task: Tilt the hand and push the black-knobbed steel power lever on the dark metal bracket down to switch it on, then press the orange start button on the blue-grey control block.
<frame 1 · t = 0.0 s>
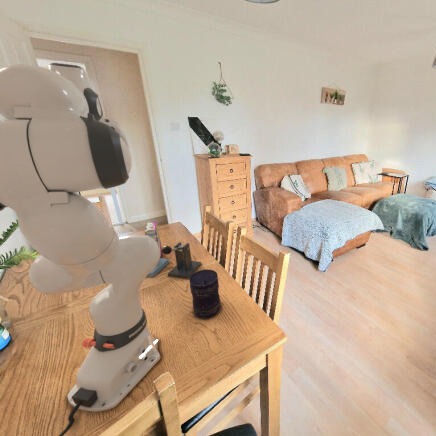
hand: (97, 164, 82), 52 cm above the table, tool tilted 20°, fingers open, 8 cm apart
storage jar: (207, 309, 92), on the table
candy bar box: (156, 254, 126), on the table
switch bracket: (185, 270, 114), on the table
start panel: (151, 268, 114), on the table
start button: (150, 260, 113), point 4 cm above the table, slide at 0.1 cm
power lever: (174, 249, 104), point 14 cm above the table, hinge at 25.0°
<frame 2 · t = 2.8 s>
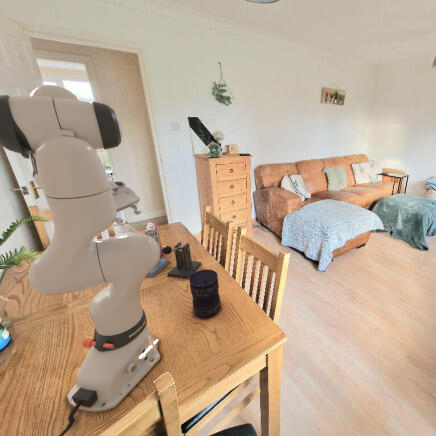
hand: (130, 217, 95), 30 cm above the table, tool tilted 45°, fingers open, 8 cm apart
nothing on the table moved.
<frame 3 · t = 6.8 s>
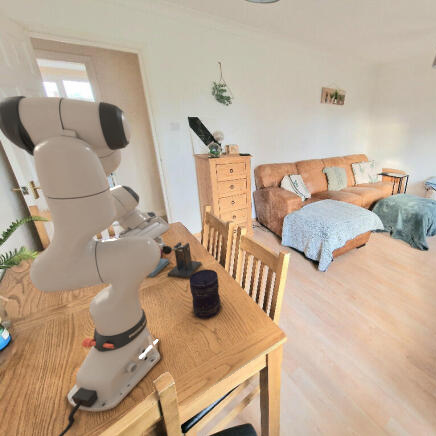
hand: (163, 247, 98), 18 cm above the table, tool tilted 45°, fingers closed, pressing on power lever
power lever: (174, 249, 104), point 14 cm above the table, hinge at 25.0°, touching gripper
everything else where it was.
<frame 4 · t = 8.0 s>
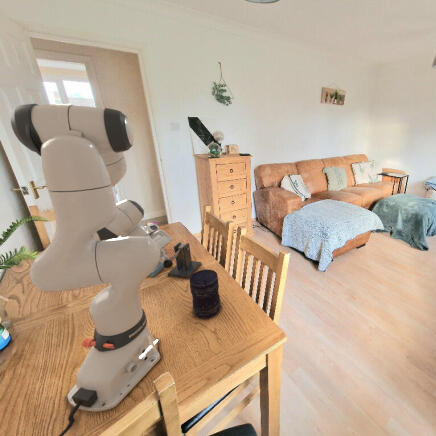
hand: (165, 260, 100), 12 cm above the table, tool tilted 45°, fingers closed, pressing on power lever
power lever: (175, 256, 105), point 11 cm above the table, hinge at -7.9°, touching gripper
everything else where it was.
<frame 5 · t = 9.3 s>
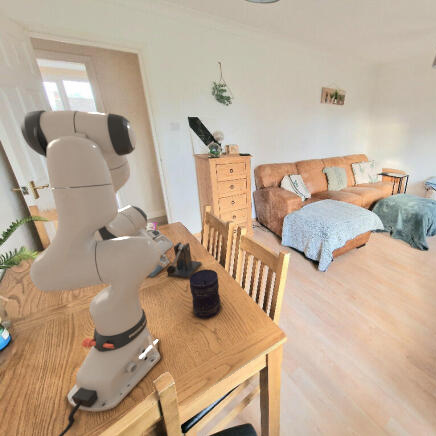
hand: (167, 265, 101), 9 cm above the table, tool tilted 45°, fingers closed
power lever: (176, 259, 106), point 9 cm above the table, hinge at -28.5°
everything else where it was.
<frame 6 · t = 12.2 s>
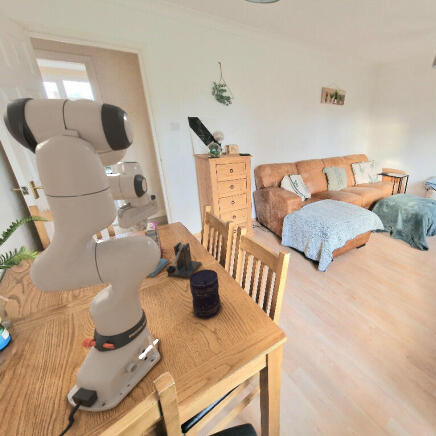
hand: (143, 229, 106), 21 cm above the table, tool pointing down, fingers closed
nothing on the table moved.
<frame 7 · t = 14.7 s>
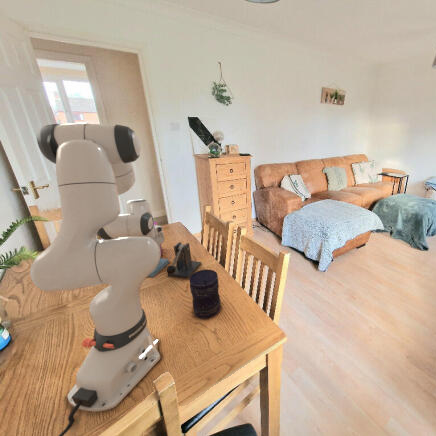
hand: (149, 259, 112), 5 cm above the table, tool pointing down, fingers closed, pressing on start button
start button: (150, 261, 113), point 4 cm above the table, slide at -0.4 cm, touching gripper
everything else where it was.
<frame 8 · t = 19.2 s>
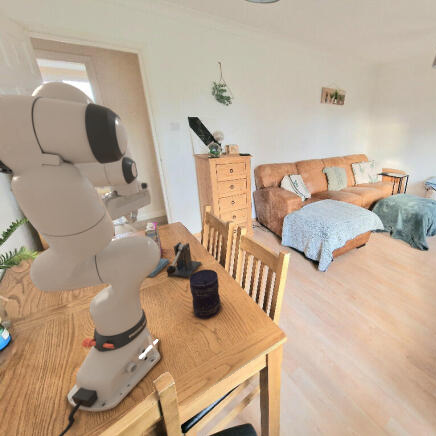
hand: (132, 222, 93), 29 cm above the table, tool pointing down, fingers closed
start button: (150, 260, 113), point 4 cm above the table, slide at 0.1 cm
everything else where it was.
at the end: power lever at -28° (first picture: +25°); start button pushed in 1.0 cm at the most during the clip, back to where it started at the end; start button slide at 0.1 cm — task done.
